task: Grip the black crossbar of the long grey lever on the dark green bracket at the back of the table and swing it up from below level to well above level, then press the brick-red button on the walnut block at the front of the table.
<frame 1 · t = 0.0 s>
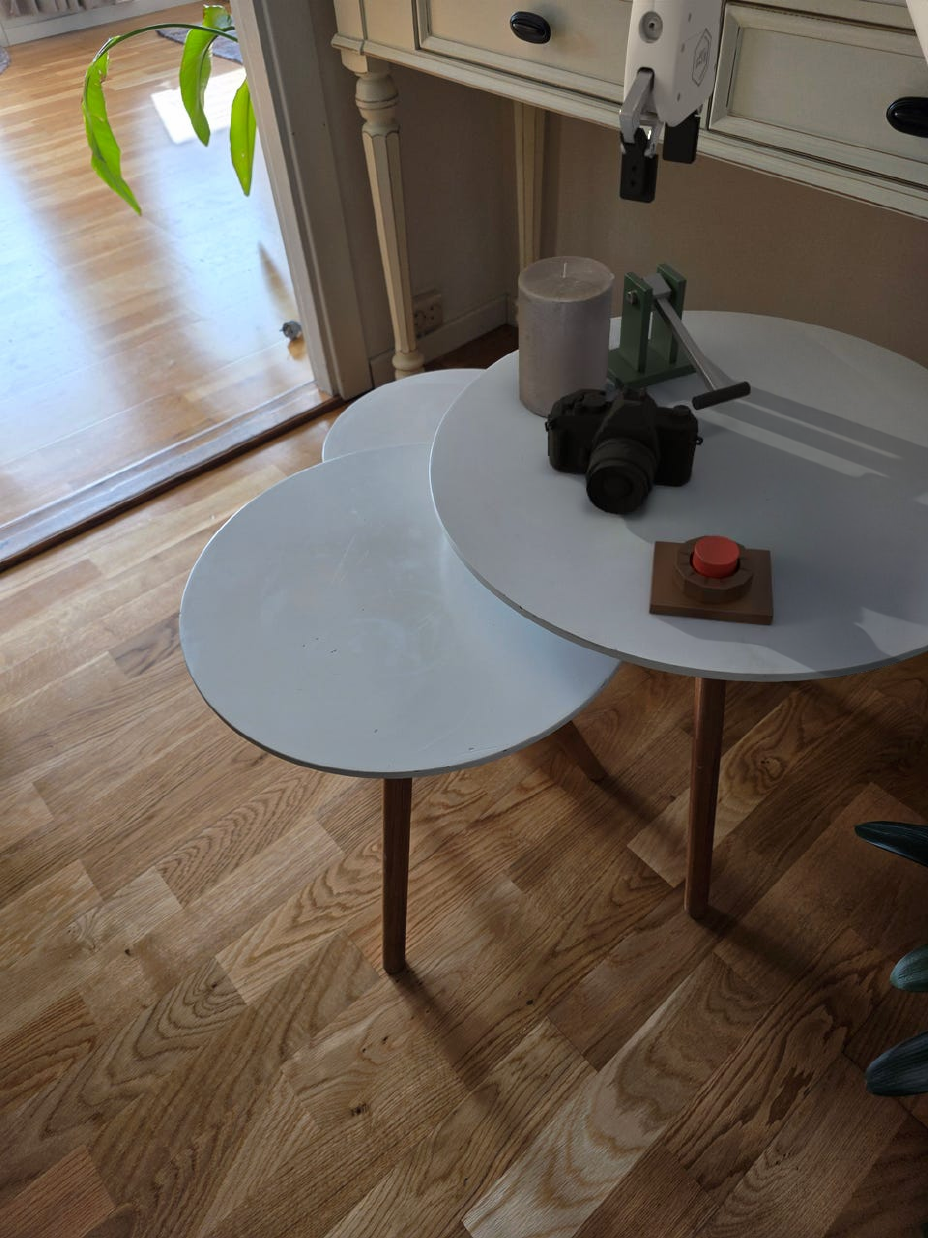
hand: (658, 179, 81), 22 cm above the table, tool pointing down, fingers open, 9 cm apart
lever: (684, 340, 91), point 7 cm above the table, hinge at -18.0°
film camera: (616, 487, 86), on the table
bracket: (646, 366, 100), on the table
button: (715, 557, 73), point 3 cm above the table, slide at 0.1 cm
pillar candle: (562, 396, 98), on the table
button block: (709, 586, 76), on the table
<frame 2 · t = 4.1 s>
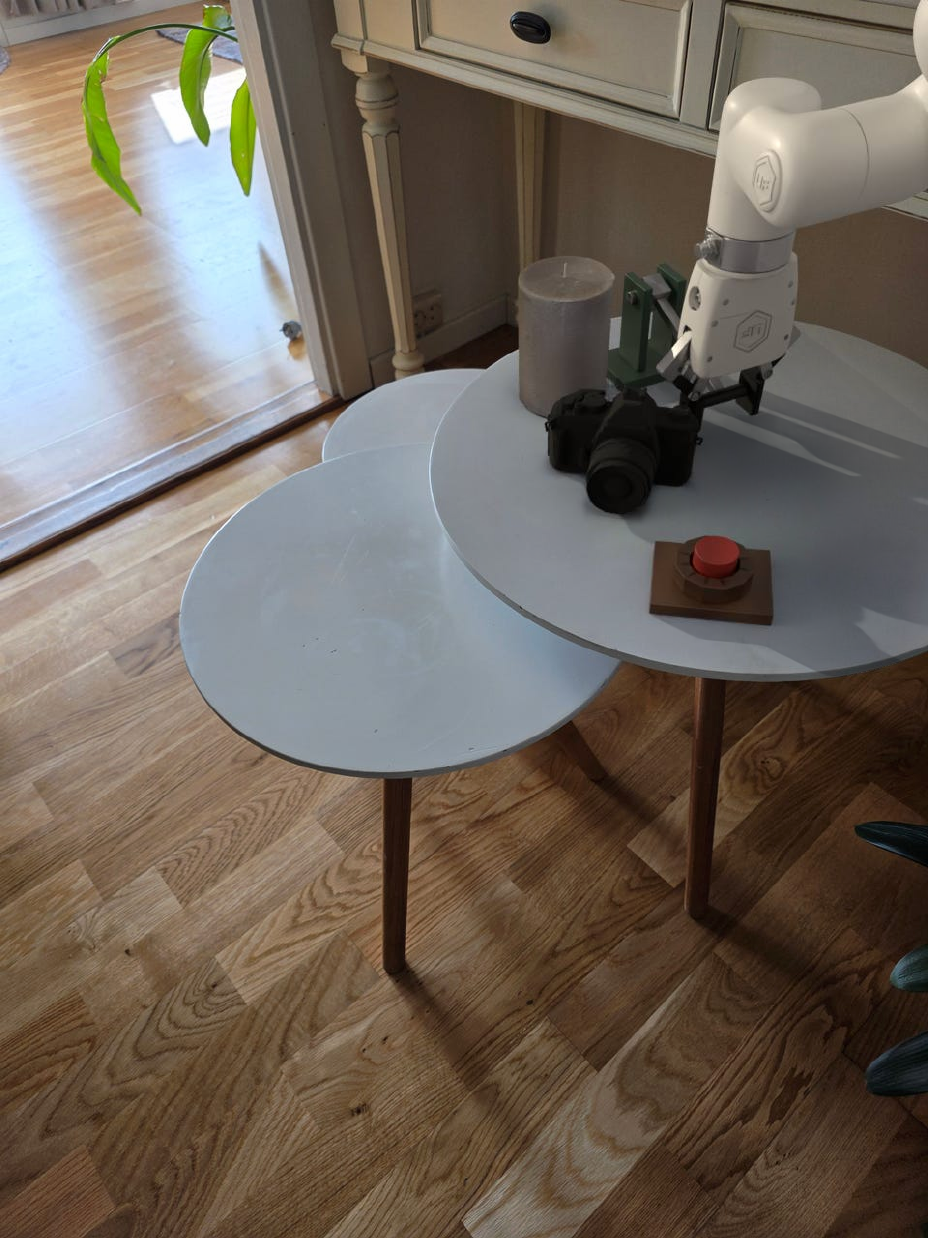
hand: (717, 415, 89), 2 cm above the table, tool pointing down, fingers closed on lever, 6 cm apart
lever: (684, 340, 91), point 7 cm above the table, hinge at -18.0°, touching gripper
everything else where it was.
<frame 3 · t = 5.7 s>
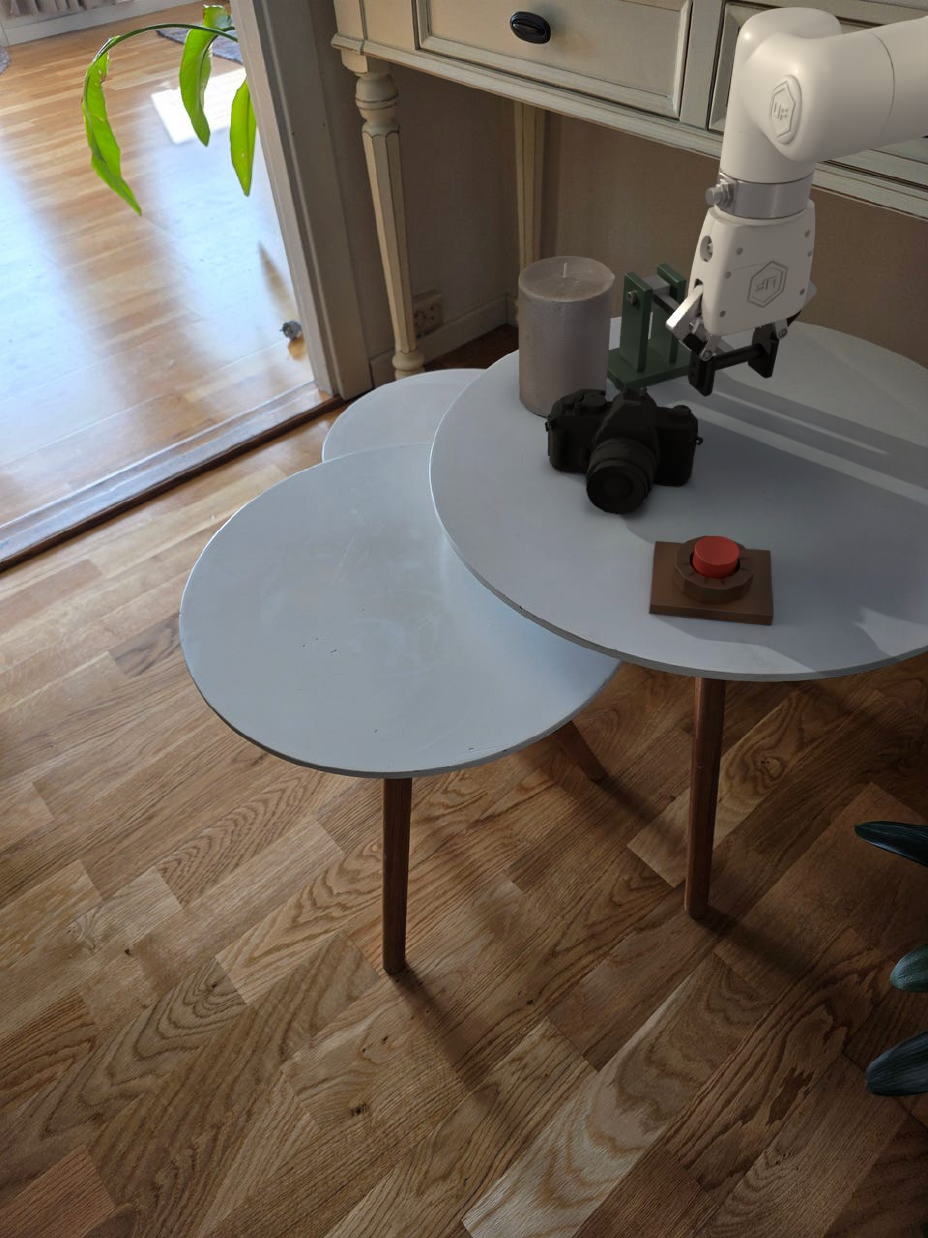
hand: (729, 378, 85), 7 cm above the table, tool pointing down, fingers closed on lever, 6 cm apart
lever: (689, 321, 89), point 9 cm above the table, hinge at 0.1°, touching gripper
everything else where it was.
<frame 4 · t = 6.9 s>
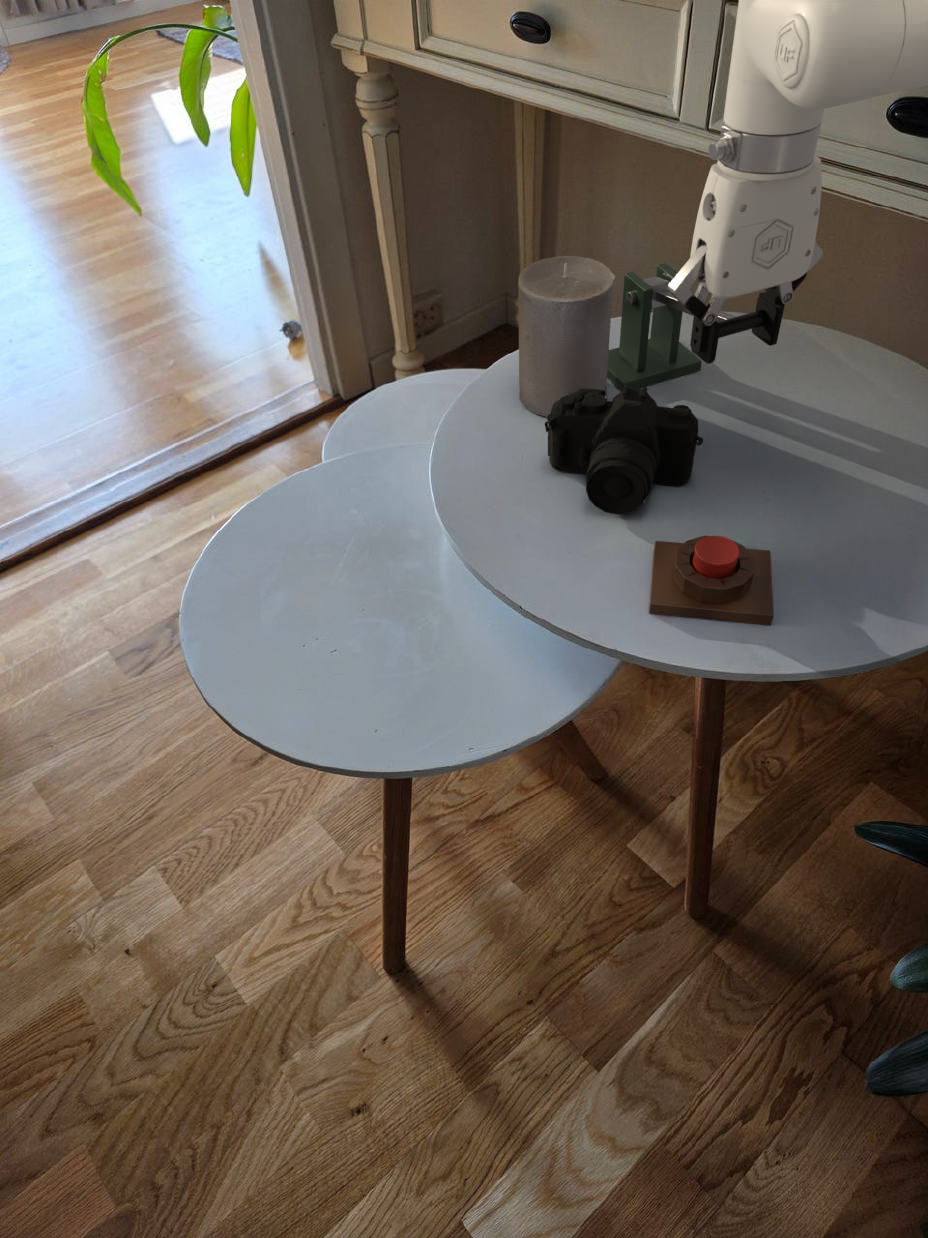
hand: (733, 346, 83), 10 cm above the table, tool pointing down, fingers closed on lever, 6 cm apart
lever: (690, 306, 88), point 11 cm above the table, hinge at 12.6°, touching gripper
everything else where it was.
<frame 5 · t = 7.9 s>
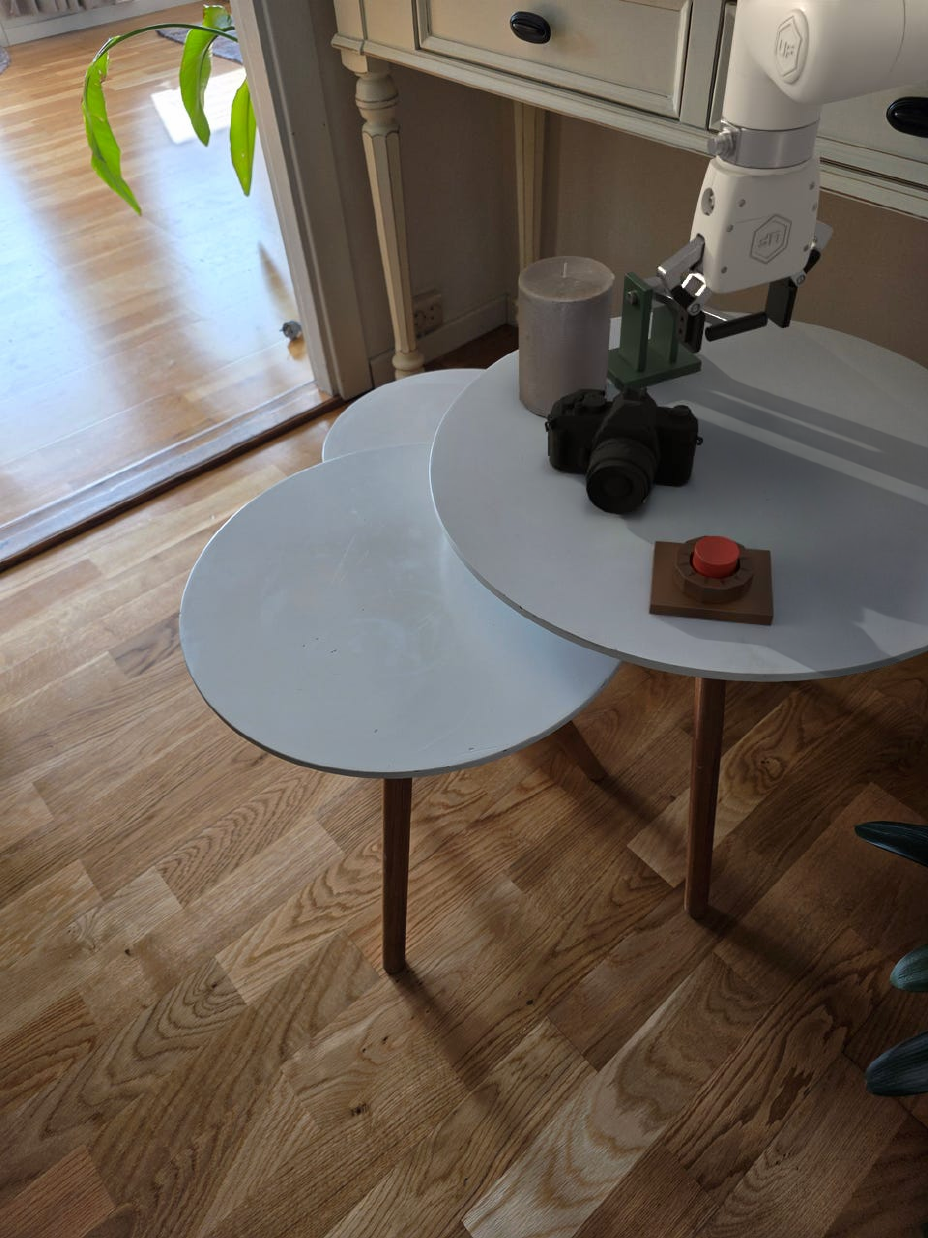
hand: (732, 333, 83), 11 cm above the table, tool pointing down, fingers open, 9 cm apart
lever: (690, 307, 88), point 11 cm above the table, hinge at 12.1°
everything else where it was.
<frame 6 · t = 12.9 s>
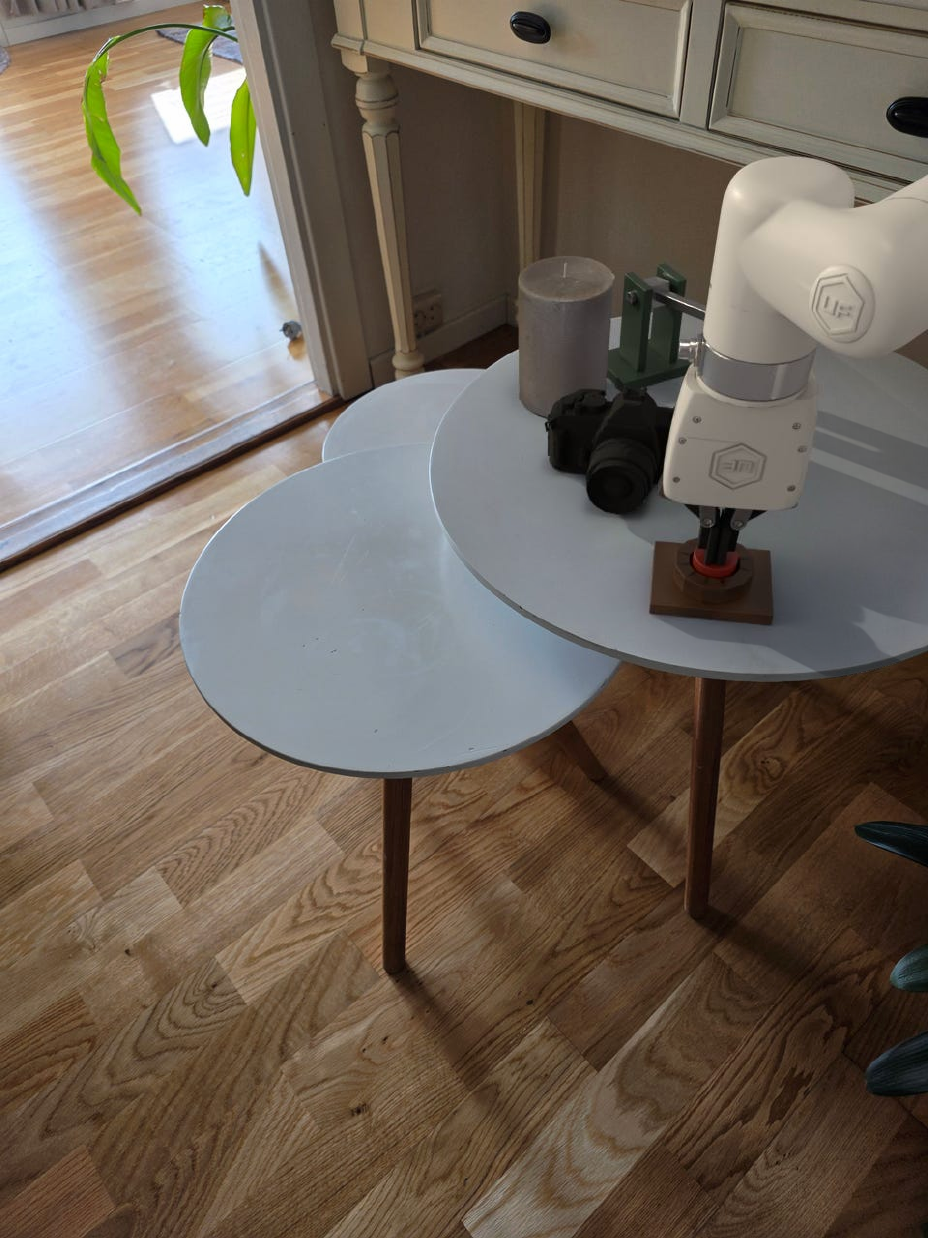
hand: (714, 553, 73), 4 cm above the table, tool pointing down, fingers closed
button: (714, 562, 74), point 3 cm above the table, slide at -0.5 cm, touching gripper
everything else where it was.
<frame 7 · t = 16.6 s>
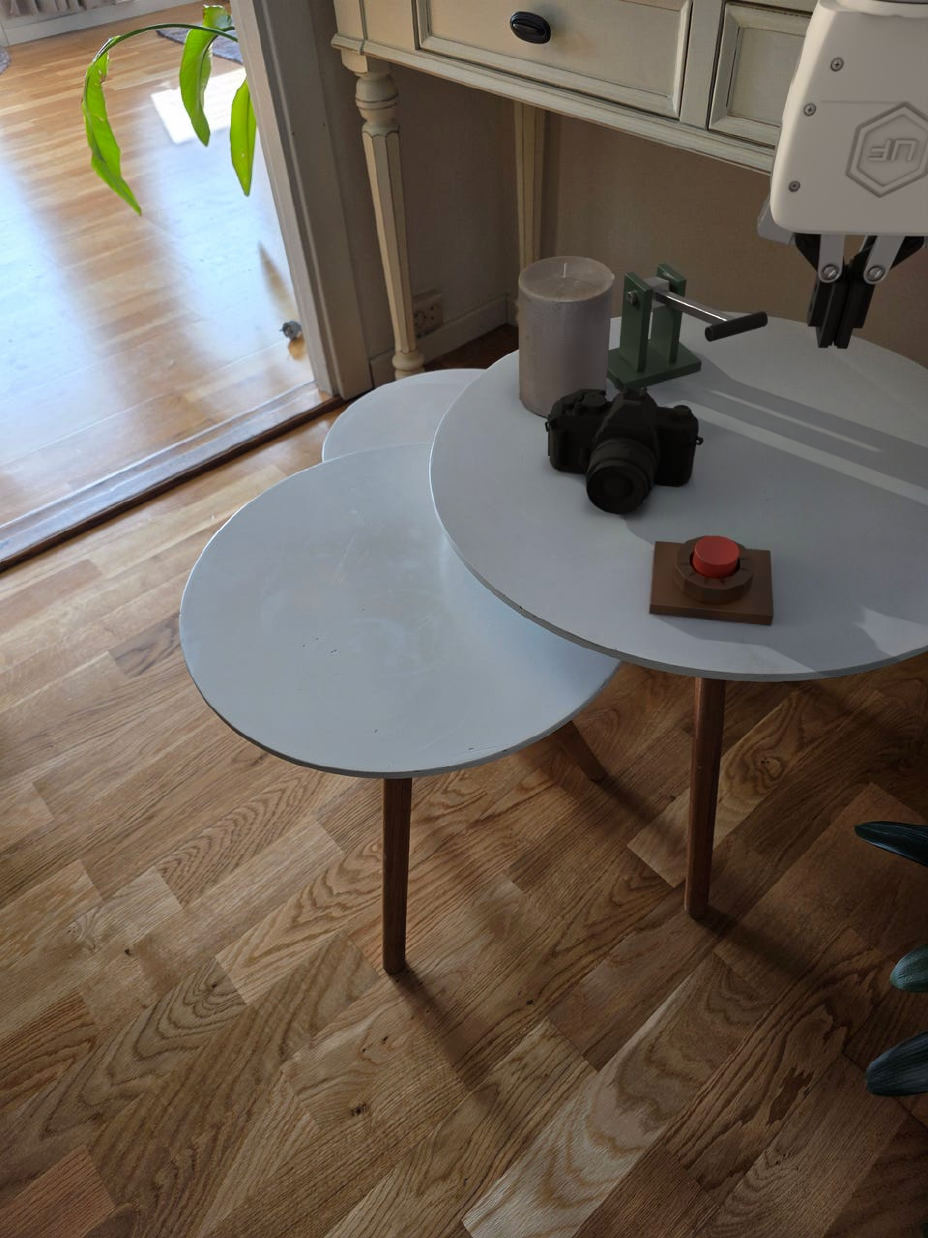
hand: (830, 336, 52), 27 cm above the table, tool pointing down, fingers closed
button: (715, 557, 73), point 3 cm above the table, slide at 0.1 cm
everything else where it was.
at the end: lever at +12° (first picture: -18°); button pushed in 1.1 cm at the most during the clip, back to where it started at the end; button slide at 0.1 cm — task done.
